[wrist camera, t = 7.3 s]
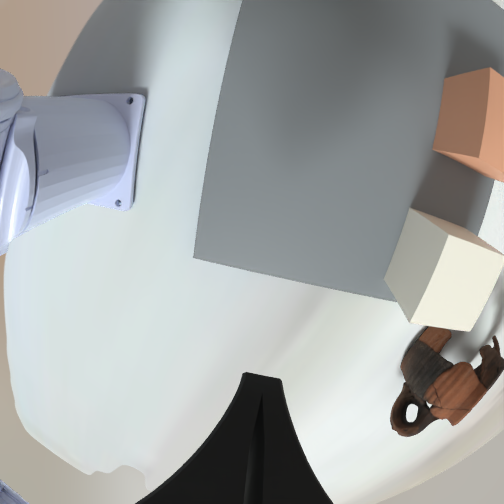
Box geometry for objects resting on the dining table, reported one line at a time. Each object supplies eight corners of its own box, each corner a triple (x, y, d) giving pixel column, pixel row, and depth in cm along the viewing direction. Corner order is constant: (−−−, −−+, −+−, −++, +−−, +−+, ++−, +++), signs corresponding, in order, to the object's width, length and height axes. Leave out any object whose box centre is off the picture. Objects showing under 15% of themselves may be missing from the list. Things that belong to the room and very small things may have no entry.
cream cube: (383, 278, 18) (409, 322, 13) (409, 207, 16) (448, 234, 11) (439, 291, 17) (470, 331, 13) (464, 228, 15) (506, 257, 11)
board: (197, 252, 19) (193, 257, 18) (270, -75, 9) (269, -82, 8) (439, 304, 19) (444, 311, 18) (498, 13, 9) (505, 11, 8)
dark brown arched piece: (452, 287, 19) (522, 345, 12) (456, 320, 25) (505, 363, 18) (354, 397, 20) (411, 467, 14) (383, 401, 26) (425, 450, 19)
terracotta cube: (432, 149, 14) (478, 157, 9) (444, 78, 12) (490, 67, 7) (485, 176, 14) (532, 193, 9) (497, 111, 12) (544, 113, 7)
